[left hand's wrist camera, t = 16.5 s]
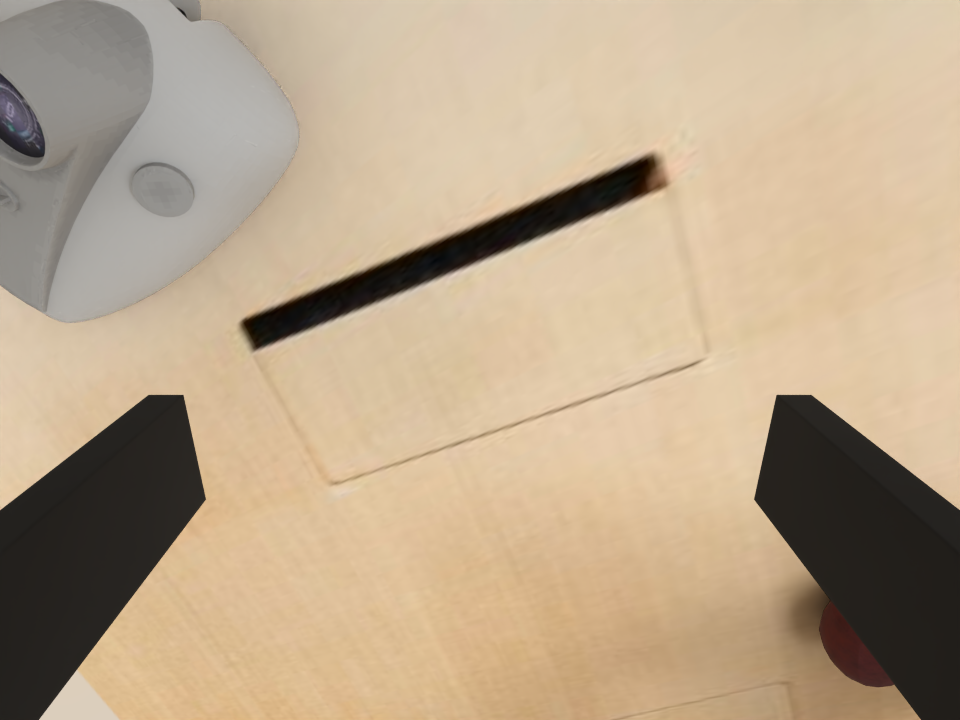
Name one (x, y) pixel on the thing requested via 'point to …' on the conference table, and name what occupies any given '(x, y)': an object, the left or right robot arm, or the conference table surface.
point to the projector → (126, 148)
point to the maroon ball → (849, 650)
